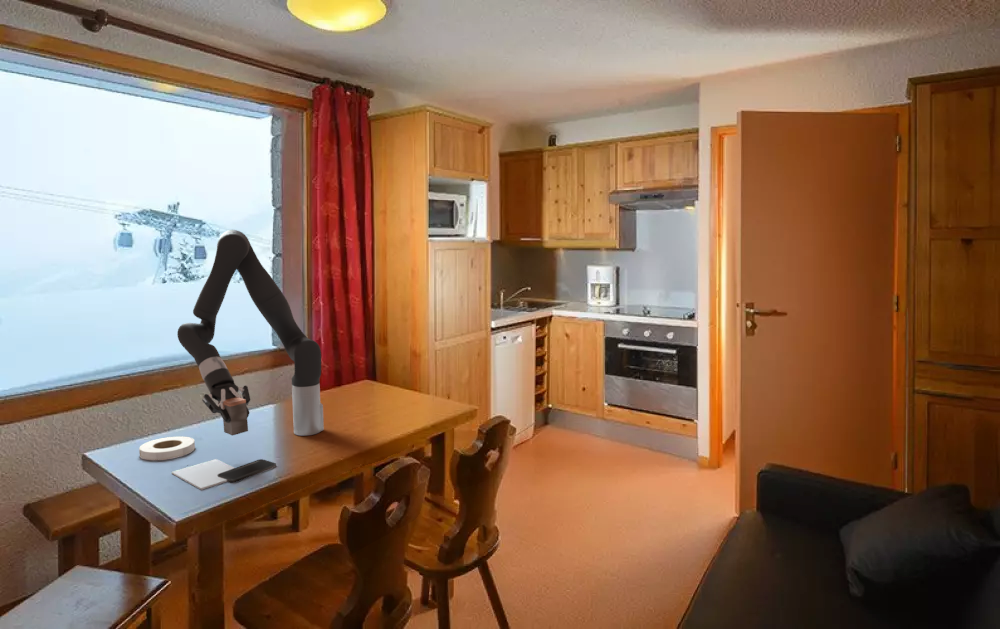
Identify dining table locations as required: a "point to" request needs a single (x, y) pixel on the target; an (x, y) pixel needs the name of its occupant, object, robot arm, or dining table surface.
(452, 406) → the dining table surface
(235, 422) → the block
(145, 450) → the roll of tape
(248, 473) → the phone
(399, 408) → the dining table surface
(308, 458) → the dining table surface
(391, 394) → the dining table surface
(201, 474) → the mat
